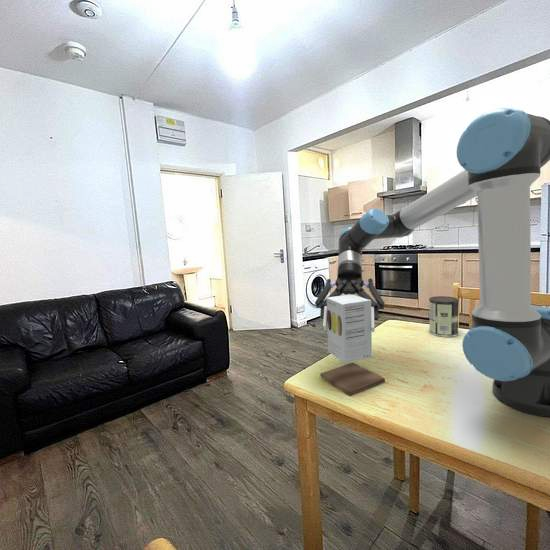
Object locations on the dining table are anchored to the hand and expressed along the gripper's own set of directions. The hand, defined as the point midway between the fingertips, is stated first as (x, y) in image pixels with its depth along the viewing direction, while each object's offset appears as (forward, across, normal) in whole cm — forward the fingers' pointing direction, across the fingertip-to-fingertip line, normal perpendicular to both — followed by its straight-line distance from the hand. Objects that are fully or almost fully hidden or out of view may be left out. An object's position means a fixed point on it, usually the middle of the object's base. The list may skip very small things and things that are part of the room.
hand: (348, 329), depth 84 cm
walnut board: (+10, 0, -13) cm, 16 cm away
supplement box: (+5, 0, -8) cm, 9 cm away
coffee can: (-22, -34, -45) cm, 61 cm away
